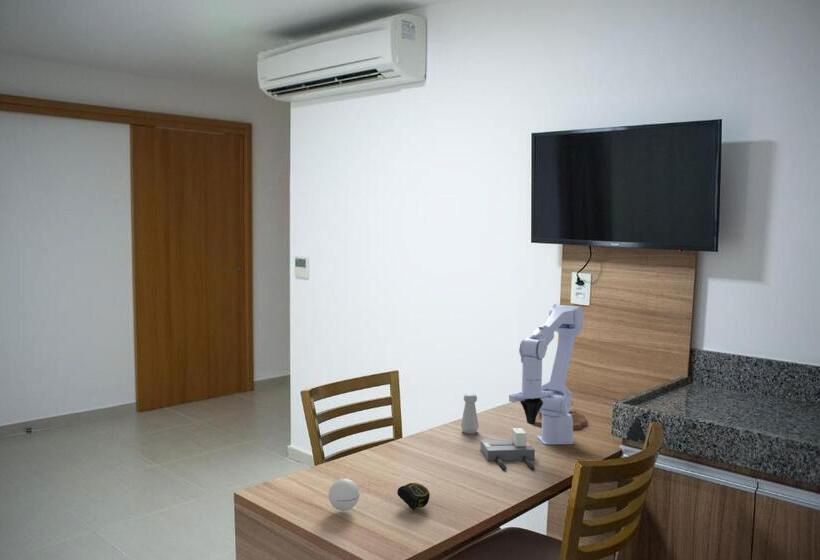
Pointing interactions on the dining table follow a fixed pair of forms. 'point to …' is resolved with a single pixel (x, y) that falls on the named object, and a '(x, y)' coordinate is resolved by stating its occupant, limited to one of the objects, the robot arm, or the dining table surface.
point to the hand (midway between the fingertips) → (530, 423)
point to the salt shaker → (470, 415)
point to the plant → (577, 418)
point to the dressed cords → (523, 459)
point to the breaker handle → (518, 437)
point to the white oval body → (344, 494)
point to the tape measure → (414, 495)
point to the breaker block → (506, 450)
